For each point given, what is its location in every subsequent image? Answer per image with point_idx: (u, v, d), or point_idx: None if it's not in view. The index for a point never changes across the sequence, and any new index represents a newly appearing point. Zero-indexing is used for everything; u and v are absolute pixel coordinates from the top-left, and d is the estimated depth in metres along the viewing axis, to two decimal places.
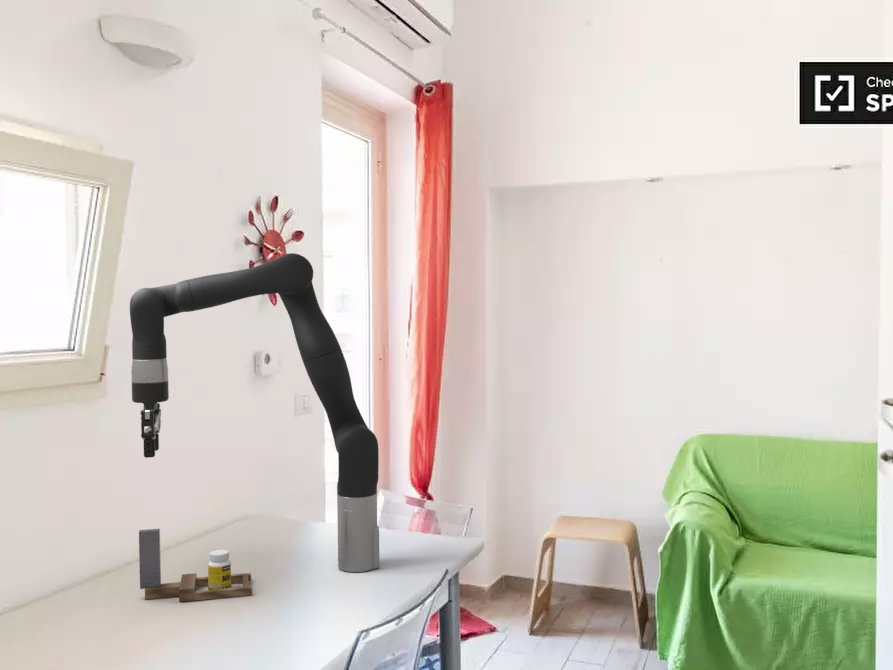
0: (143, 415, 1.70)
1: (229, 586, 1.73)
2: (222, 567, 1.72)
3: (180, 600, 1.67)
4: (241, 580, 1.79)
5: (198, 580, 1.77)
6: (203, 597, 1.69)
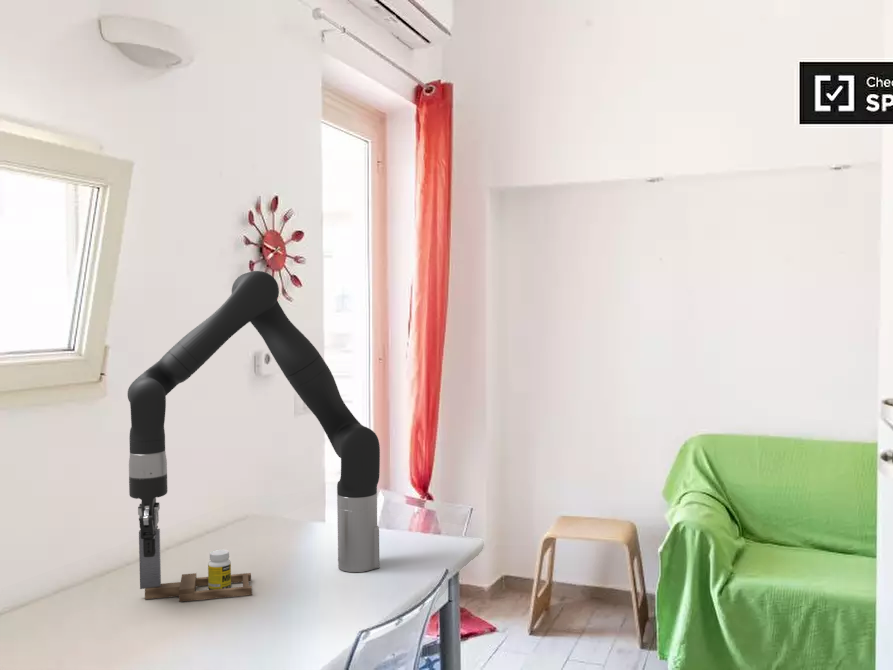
0: (142, 523, 1.64)
1: (229, 586, 1.73)
2: (222, 567, 1.72)
3: (180, 600, 1.67)
4: (241, 580, 1.79)
5: (198, 580, 1.77)
6: (203, 597, 1.69)
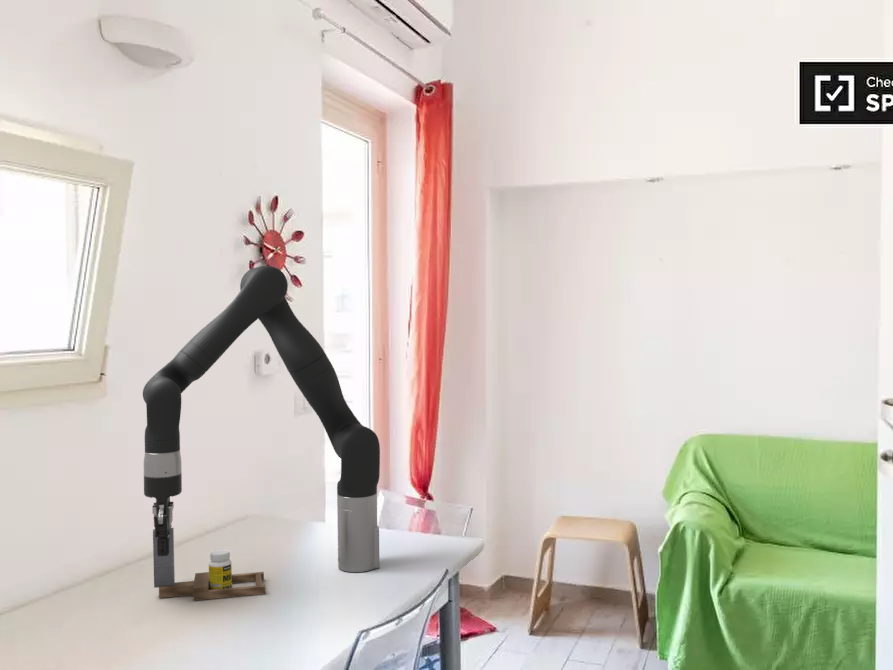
0: (156, 522, 1.65)
1: (229, 586, 1.73)
2: (222, 567, 1.72)
3: (194, 599, 1.68)
4: (254, 579, 1.80)
5: None
6: (217, 596, 1.69)
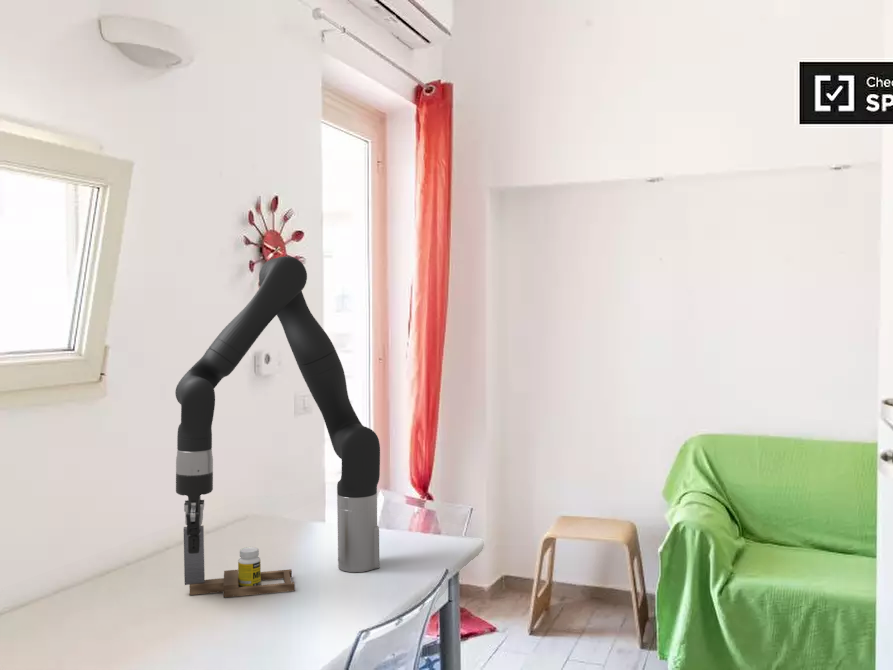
0: (189, 519, 1.66)
1: (259, 583, 1.75)
2: (252, 564, 1.74)
3: (225, 596, 1.70)
4: (282, 576, 1.81)
5: None
6: (247, 593, 1.71)
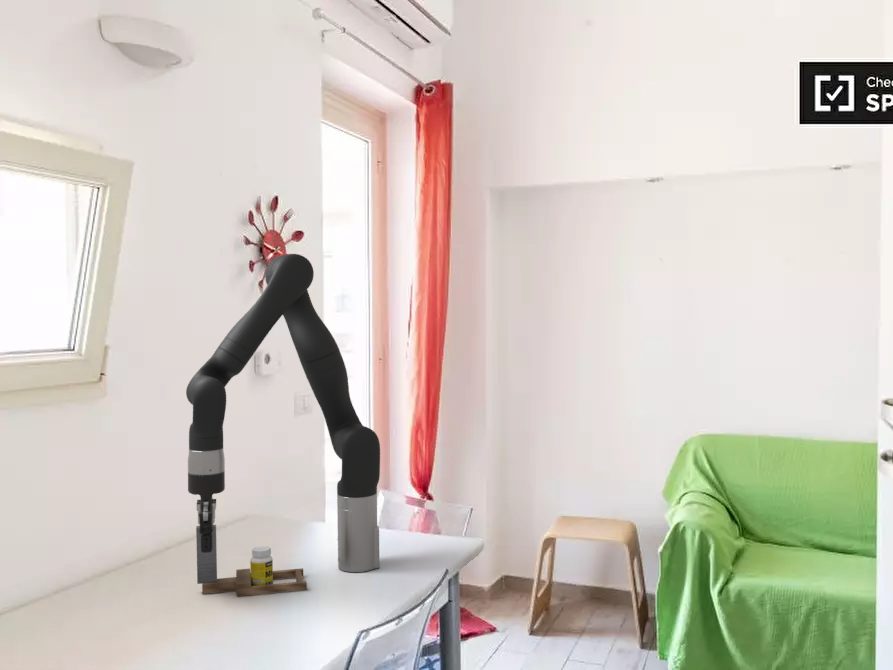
0: (201, 518, 1.67)
1: (271, 581, 1.76)
2: (265, 563, 1.74)
3: (237, 595, 1.70)
4: (294, 575, 1.82)
5: None
6: (259, 592, 1.71)
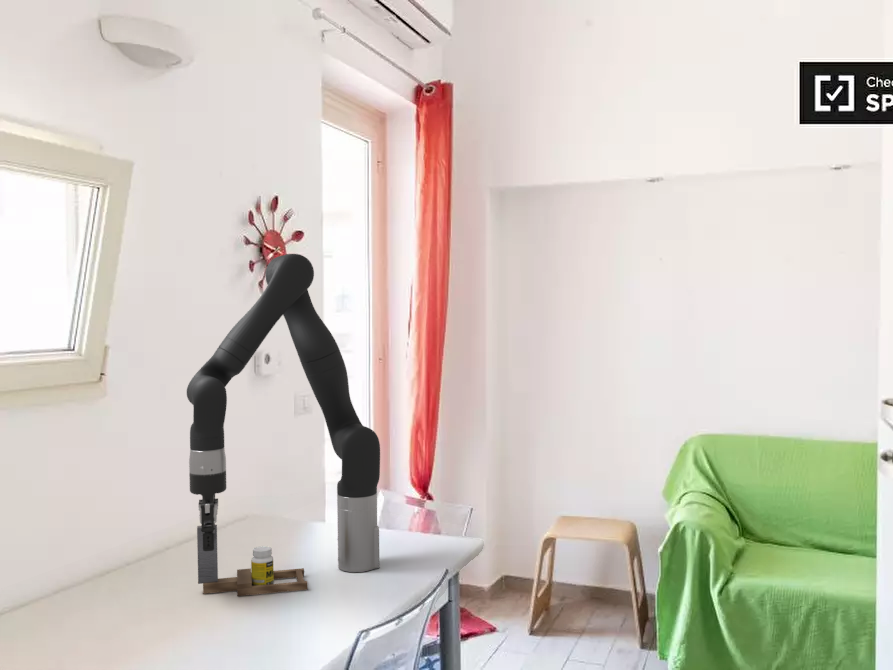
0: (203, 509, 1.66)
1: (272, 581, 1.76)
2: (266, 563, 1.74)
3: (238, 595, 1.70)
4: (294, 575, 1.82)
5: None
6: (260, 592, 1.71)
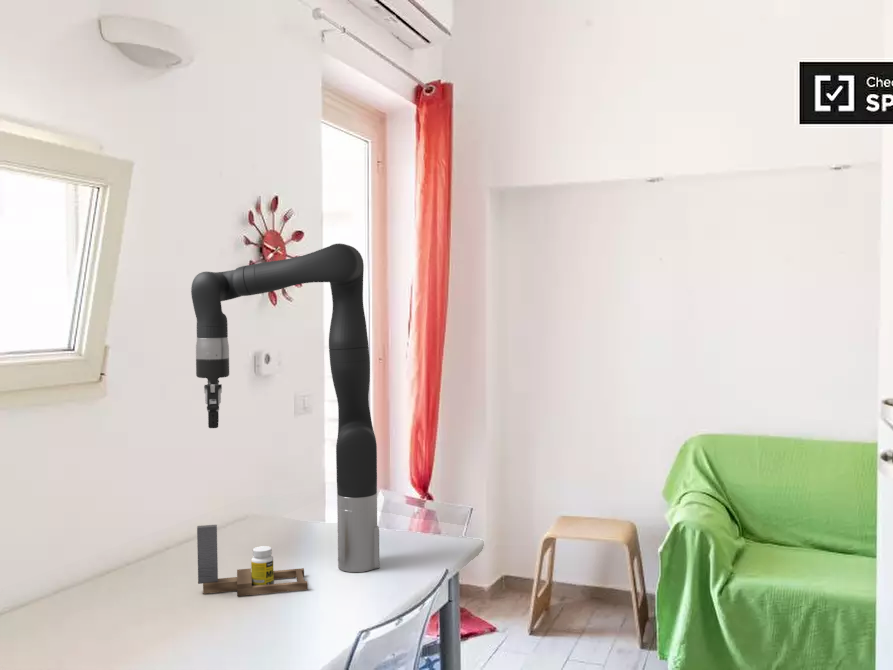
0: (209, 389, 1.84)
1: (272, 581, 1.76)
2: (266, 563, 1.74)
3: (238, 595, 1.70)
4: (294, 575, 1.82)
5: None
6: (260, 592, 1.71)
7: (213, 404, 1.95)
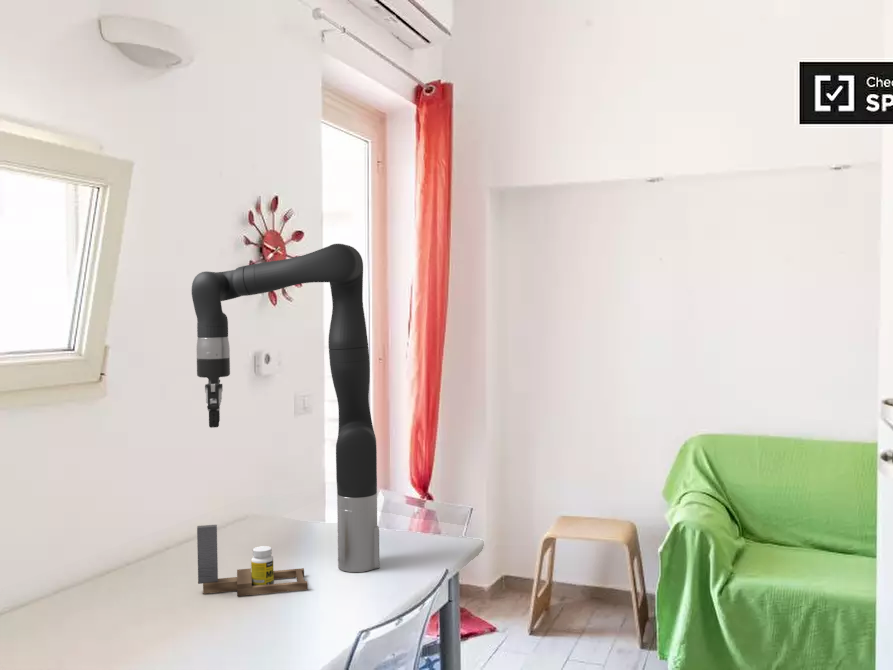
0: (209, 388, 1.85)
1: (272, 581, 1.76)
2: (266, 563, 1.74)
3: (238, 595, 1.70)
4: (294, 575, 1.82)
5: None
6: (260, 592, 1.71)
7: (214, 403, 1.96)
